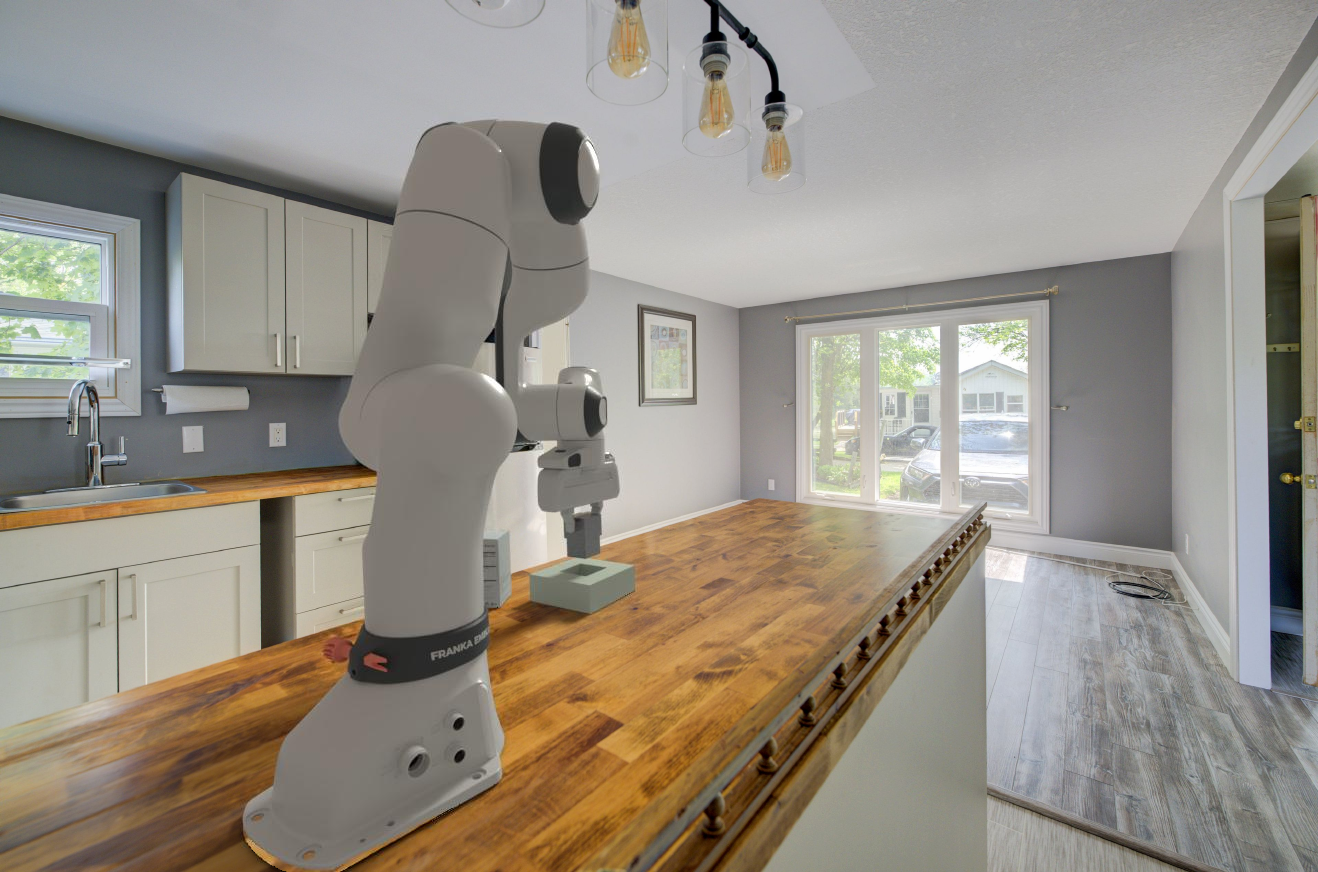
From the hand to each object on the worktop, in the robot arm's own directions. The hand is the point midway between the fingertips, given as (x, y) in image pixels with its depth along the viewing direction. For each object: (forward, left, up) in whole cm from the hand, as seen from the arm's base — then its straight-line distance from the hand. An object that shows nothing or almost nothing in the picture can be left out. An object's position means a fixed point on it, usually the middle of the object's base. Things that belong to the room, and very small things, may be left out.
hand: (582, 528), depth 104 cm
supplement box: (-11, +14, -13) cm, 22 cm away
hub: (0, 0, -13) cm, 13 cm away
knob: (0, 0, -5) cm, 5 cm away
